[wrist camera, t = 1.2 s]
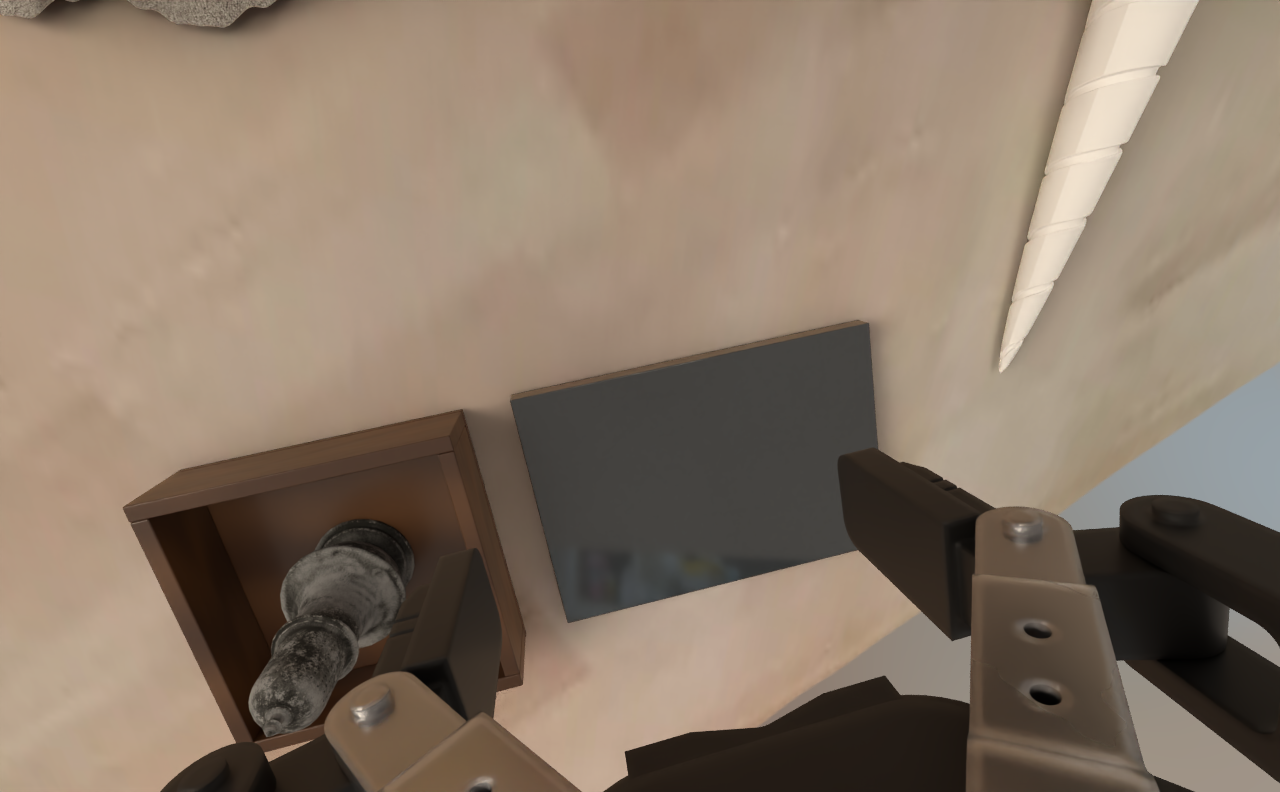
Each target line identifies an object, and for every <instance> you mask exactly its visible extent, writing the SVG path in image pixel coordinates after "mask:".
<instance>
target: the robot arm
mask: <svg viewBox="0 0 1280 792" xmlns="http://www.w3.org/2000/svg"><path fill="white" fill-rule="evenodd" d="M837 467H838V476H839V484H840V493H841V501H842V509H843V517H844V523H845V527H846V530H847V533H848V535H849V537H850V539H851V541H852V543H853V544H854V546H855V547H856V548H857V549H858V550H859V551H860V552H861V553H862V554H863V555H864V556H865V557H866V558H867V559H868V560H869V561H870V562H871V563H872V564H873V565H874V566H875V567H876V568H877V569H878V570H880V571H881V572H882V573H883V574H884V575H885V576H886V577H887V578H888V579H889V580H890V581H891V582H892V583H893V584H894V585H895V586H896V587H897V588H898V589H899V590H900V591H901V592H902V593H903V594H904V595H905V596H906V597H907V598H908V599H909V600H910V601H911V602H912V603H913V604H915V605H916V606H917V607H918V608H919V609H920V610H921V611H922V612H923V613H924V614H925V615H926V616H927V617H928V618H929V619H930V620H931V621H932V622H933V623H934V624H935V625H936V626H937V627H938V628H939V629H940V630H941V631H942V632H943V633H944V634H945V635H946V636H948V638H950V639H951V640H952V641H954V640H957V639H961V638H964V637H967V636H971V671H970V672H971V673H970V704H968V703H965V702H962V701H957V700H952V699H948V698H943V697H935V696H927V695H900V694H899V693H898V692H897V691H896V689H895V688H894V687H893V685H892V684H891V683H890V682H889V680H888V679H887V678H886V676H882V677H878V678H875V679H871V680H868V681H865V682H861V683H858V684H854V685H851V686H847V687H844V688H840V689H837V690H834V691H830V692H827V693H823V694H821V695H820V696H818V697H816V698H814V699H813V700H811V701H809V702H808V703H806V704H804V705H802V706H800V707H799V708H797V709H795V710H793V711H792V712H790V713H788V714H786V715H785V716H783V717H781V718H779V719H778V720H776V721H774V722H772V723H770V724H769V725H766V726H763V727H758V728H745V729H731V730H717V731H703V732H690V733H687V734H684V735H680V736H677V737H673V738H670V739H666V740H663V741H660V742H656V743H653V744H649V745H646V746H643V747H639V748H636V749H632V750H629V751H626V752H625V756H626V763H627V770H628V776H626V777H625V778H623V779H621V780H619V781H618V782H616V783H615V784H614V785H612V786H611V787H609V788H608V789H607V790H605V791H604V792H1194V791H1191V790H1189V789H1186V788H1183V787H1181V786H1179V785H1176V784H1174V783H1171V782H1169V781H1166V780H1163V779H1161V778H1158V777H1156V776H1153V775H1152V774H1150V773H1149V772H1148V771H1147V769H1146V767H1145V765H1144V761H1143V758H1142V754H1141V751H1140V747H1139V743H1138V739H1137V736H1136V732H1135V729H1134V725H1133V721H1132V717H1131V714H1130V710H1129V706H1128V702H1127V699H1126V695H1125V691H1124V688H1123V684H1122V680H1121V676H1120V673H1119V669H1118V665H1117V662H1116V661H1118V660H1124V661H1125V662H1126V663H1127V664H1128V665H1129V666H1130V667H1132V668H1133V669H1134V670H1136V671H1137V672H1138V673H1139V674H1141V675H1142V676H1143V677H1145V678H1146V679H1147V680H1148V681H1150V682H1151V683H1152V684H1153V685H1155V686H1156V687H1157V688H1159V689H1160V690H1161V691H1162V692H1164V693H1165V694H1166V695H1168V696H1169V697H1170V698H1171V699H1173V700H1174V701H1175V702H1176V703H1178V704H1179V705H1180V706H1182V707H1183V708H1184V709H1186V710H1187V711H1188V712H1189V713H1191V714H1192V715H1193V716H1194V717H1196V718H1197V719H1198V720H1200V721H1201V722H1202V723H1203V724H1205V725H1206V726H1207V727H1208V728H1210V729H1211V730H1212V731H1214V732H1215V733H1216V734H1217V735H1219V736H1220V737H1221V738H1223V739H1224V740H1225V741H1226V742H1228V743H1229V744H1230V745H1232V746H1233V747H1234V748H1235V749H1237V750H1238V751H1239V752H1240V753H1242V754H1243V755H1244V756H1246V757H1247V758H1248V759H1249V760H1251V761H1252V762H1253V763H1255V764H1256V765H1257V766H1258V767H1260V768H1261V769H1262V770H1264V771H1265V772H1266V773H1268V774H1269V775H1270V776H1271V777H1272V778H1274V779H1275V780H1276V781H1278V782H1279V783H1280V667H1278V666H1277V665H1275V664H1274V663H1272V662H1270V661H1269V660H1267V659H1266V658H1264V657H1262V656H1260V655H1259V654H1257V653H1256V652H1254V651H1252V650H1251V649H1249V648H1248V647H1246V646H1244V645H1243V644H1241V643H1239V642H1238V641H1236V640H1234V639H1233V638H1231V637H1230V636H1228V621H1229V608H1231V609H1233V610H1235V611H1236V612H1238V613H1240V614H1242V615H1243V616H1245V617H1247V618H1249V619H1250V620H1252V621H1254V622H1256V623H1257V624H1259V625H1260V626H1261V627H1263V628H1264V629H1265V630H1267V632H1268V633H1270V635H1271V636H1272V637H1273V638H1274V639H1275V641H1276V642H1277V644H1278V645H1279V647H1280V532H1277V531H1275V530H1272V529H1270V528H1268V527H1265V526H1263V525H1261V524H1258V523H1256V522H1253V521H1251V520H1248V519H1246V518H1244V517H1241V516H1239V515H1237V514H1234V513H1232V512H1230V511H1227V510H1225V509H1222V508H1220V507H1218V506H1215V505H1213V504H1210V503H1207V502H1204V501H1200V500H1196V499H1192V498H1186V497H1180V496H1171V495H1170V496H1169V495H1150V496H1141V497H1136V498H1132V499H1130V500H1128V501H1125V502H1124V503H1123V504H1122V505H1121V507H1120V527H1116V528H1102V529H1087V530H1072V527H1071V525H1070V524H1069V523H1068V522H1067V521H1066V520H1064V519H1063V518H1061V517H1059V516H1058V515H1056V514H1053V513H1051V512H1048V511H1044V510H1040V509H1036V508H1029V507H1002V508H994V507H992V506H990V505H989V504H987V503H985V502H983V501H982V500H980V499H978V498H977V497H975V496H973V495H971V494H970V493H968V492H966V491H965V490H963V489H961V488H957V486H956V485H954V484H953V483H951V482H949V481H947V480H943V478H942V477H940V476H939V475H937V474H935V473H934V472H932V471H930V470H928V469H927V468H924V467H920V466H916V465H912V464H908V463H905V462H901V463H899V462H898V461H896V460H894V459H893V458H891V457H889V456H888V455H886V454H884V453H883V452H881V451H879V450H878V449H876V448H873V447H872V448H868V449H864V450H860V451H856V452H852V453H848V454H844V455H841V456H840V457H839V458H838V463H837ZM501 648H502V627H501V621H500V616H499V612H498V608H497V605H496V602H495V599H494V595H493V592H492V589H491V586H490V582H489V579H488V576H487V573H486V570H485V566H484V563H483V560H482V557H481V554H480V552H479V550H478V549H477V548H472V549H468V550H464V551H460V552H456V553H452V554H449V555H445V556H441V557H440V558H439V560H438V563H437V566H436V569H435V571H434V574H433V577H432V580H431V583H429V584H425V585H422V586H418V587H417V588H416V589H415V590H414V591H413V592H412V593H411V594H410V596H409V597H408V598H407V599H406V600H405V601H404V602H403V603H402V605H401V607H400V609H399V612H398V614H397V617H396V619H395V624H393V626H392V629H391V631H390V634H389V638H387V641H386V643H385V646H384V648H383V651H382V653H381V655H380V658H379V660H378V663H377V665H376V668H375V670H374V672H373V675H372V677H371V679H369V680H367V681H365V682H363V683H362V684H360V685H358V686H357V687H355V688H354V689H352V690H351V691H350V692H348V693H347V694H346V695H345V696H343V697H342V698H341V699H340V700H339V701H338V702H337V703H336V705H335V706H334V707H333V708H332V709H331V711H330V713H329V714H328V716H327V718H326V721H325V725H324V732H325V734H323V735H322V736H320V737H318V738H316V739H315V740H313V741H311V742H309V743H307V744H305V745H303V746H301V747H299V748H297V749H295V750H293V751H291V752H289V753H287V754H285V755H282V756H280V757H278V758H276V759H274V760H272V761H270V762H268V760H267V758H266V756H265V754H264V752H263V750H262V748H261V746H260V745H258V744H257V743H253V742H240V743H235V744H231V745H228V746H225V747H223V748H220V749H218V750H216V751H213V752H211V753H209V754H208V755H206V756H204V757H202V758H201V759H199V760H197V761H196V762H194V763H193V764H191V765H190V766H188V767H187V768H186V769H184V770H183V771H182V772H180V773H179V774H178V775H177V776H176V777H174V778H173V779H172V780H171V781H170V782H169V783H168V784H167V785H166V786H165V787H164V788H163V789H162V790H161V792H582V791H580V790H579V789H578V788H577V787H575V786H574V785H573V784H572V783H571V782H569V781H568V780H567V779H566V778H564V777H563V776H562V775H561V774H560V773H558V772H557V771H556V770H555V769H553V768H552V767H551V766H550V765H549V764H547V763H546V762H545V761H544V760H543V759H541V758H540V757H539V756H538V755H536V754H535V753H534V752H533V751H532V750H530V749H529V748H528V747H527V746H525V745H524V744H523V743H522V742H521V741H519V740H518V739H517V738H516V737H514V736H513V735H512V734H511V733H510V732H508V731H507V730H506V729H505V728H503V727H502V726H501V725H500V724H499V723H497V722H496V721H495V720H494V719H493V717H494V708H495V699H496V691H497V682H498V674H499V665H500V657H501Z"/></svg>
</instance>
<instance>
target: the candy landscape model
mask: <svg viewBox="0 0 1280 792" xmlns="http://www.w3.org/2000/svg"><path fill="white" fill-rule="evenodd" d="M53 1H54V0H0V14H1V15H4V16H19V17H23V18H28V19H30V18H34V17H35V16H37V15H38V14H40V13H41V12H42V11H43V10H44V9H45V8H46V7H47V6H48V5H49V4H50V3H51V2H53ZM67 1H70V2H76V1H79V0H67ZM127 1H128V2H130V3H131V4H132V5H133V6H135V7H137V8H139V9H141V10H155V11H158V12H159V13H160V14H162V15H163V16H164V17H165V18H167V19H168V20H169V21H171V22H173V23H175V24H191V25H196V26H215V27H220V28H224V27H227V26H229V25H231V24H232V23H233V22H234V21H235V20H236V19H237V18H238V17H239V16H240V15H241V14H242V13H243V12H244V11H245V10H246V9H248V8H250V7H260V8H266V7H269V6H270V5H271V4H273V3H274V2H275V1H276V0H127Z"/></svg>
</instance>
